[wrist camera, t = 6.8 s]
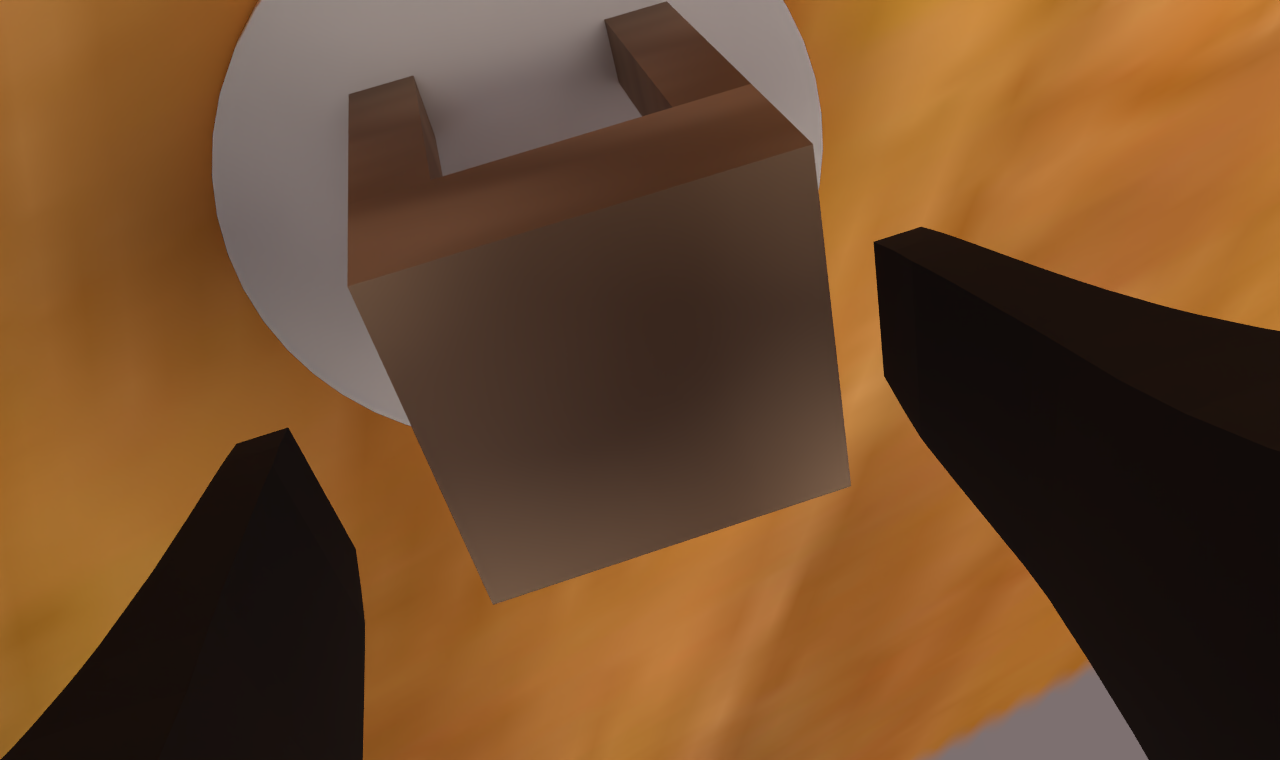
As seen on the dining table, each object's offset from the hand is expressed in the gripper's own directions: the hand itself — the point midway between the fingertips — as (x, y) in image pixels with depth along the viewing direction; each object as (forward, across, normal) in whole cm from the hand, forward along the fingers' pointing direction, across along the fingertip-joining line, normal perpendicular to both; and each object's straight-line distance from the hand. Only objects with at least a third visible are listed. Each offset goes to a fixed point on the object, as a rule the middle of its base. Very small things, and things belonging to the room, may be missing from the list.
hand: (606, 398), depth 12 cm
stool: (+6, 0, 0) cm, 6 cm away
